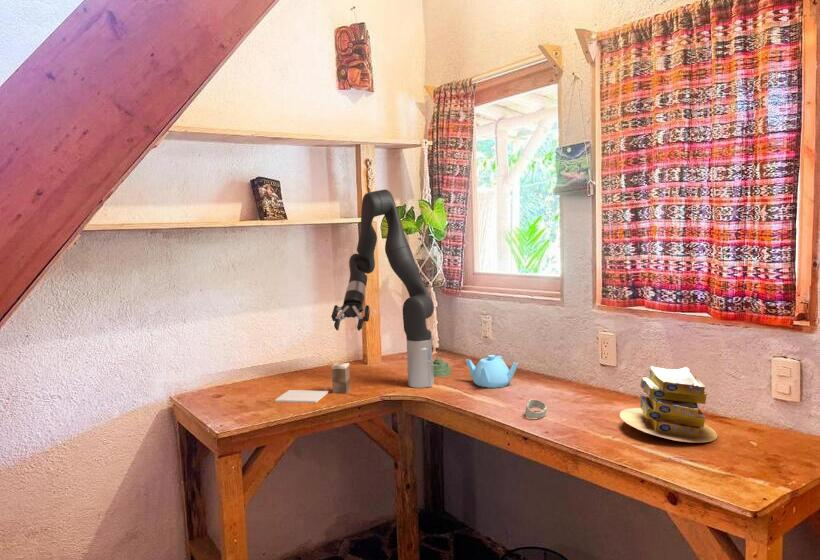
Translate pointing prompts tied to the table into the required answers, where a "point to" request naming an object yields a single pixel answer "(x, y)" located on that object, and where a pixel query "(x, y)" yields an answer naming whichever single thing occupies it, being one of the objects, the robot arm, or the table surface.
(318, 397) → the white mat
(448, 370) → the decorative artifact
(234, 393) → the table surface
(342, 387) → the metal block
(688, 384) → the stacked boxes on plate
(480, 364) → the teapot
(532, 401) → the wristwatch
